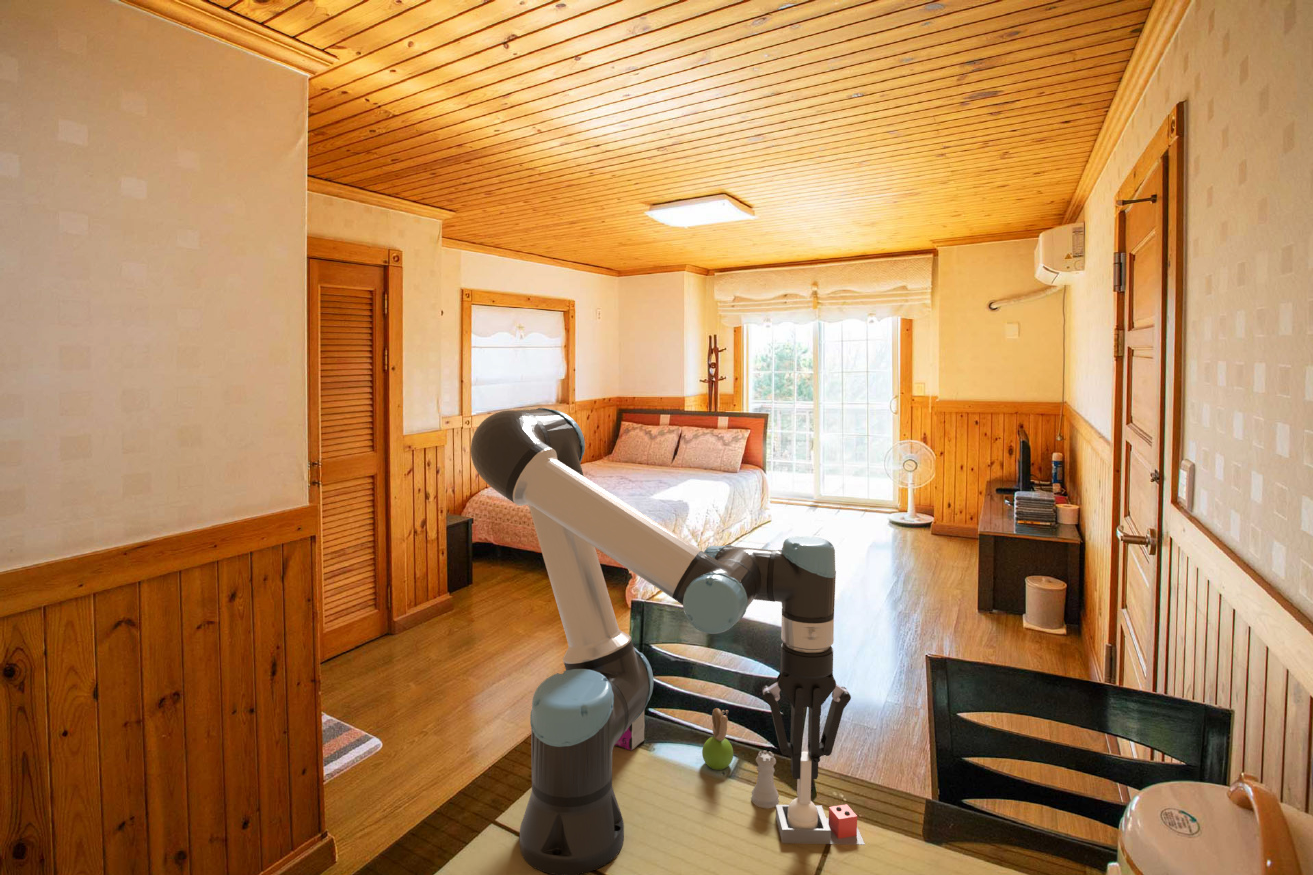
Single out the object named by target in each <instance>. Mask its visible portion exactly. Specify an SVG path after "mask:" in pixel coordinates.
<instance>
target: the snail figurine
mask: <svg viewBox="0 0 1313 875" xmlns="http://www.w3.org/2000/svg"><path fill="white" fill-rule="evenodd" d="M725 713H726V714H729V710H728V709H726V710H724V709H722V710H721V709H720V708H717V707H716V708H714V709H712V714H711V720H712V733H713V736H710V737H709V738H708V739H707V740H706V741H705V742H704V743H703V747H702V748H701V749H702V751H701V752H702V753H701V754H702V759H703V761H704V763H705V764H706V765H707V767H709V768H710V769H712V770H715V771H721V770H722V771H723V770H724V769H726V768H728V767H729V766H730V765H731V764H732V761H733V758H734V749H733V746H732V743H730V742H731V741H730V740H728V739H727V737H726V736H727V732H728V731H727V730H728V721H729V719H728V715H726V714H725ZM724 714H725V715H724Z"/></svg>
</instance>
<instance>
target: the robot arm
mask: <svg viewBox="0 0 1313 875" xmlns="http://www.w3.org/2000/svg"><path fill="white" fill-rule="evenodd" d="M470 444H471V445H470V457H471V461H472V464H473V467H474V468H475V471H476V472H477V474H478V475H479V476H480V477H481V479H482V480H483V481H484V482H485V483H486V484H487V485H488V486H489V487H491V489H493V490H494V491H496V492H497V493H498V494H500V495H502V496H503V497H504V498H506V499H507V500H509V501H510V502H512V503H513V504H514V505H516V506H519V507H520V506H526V505H527V506H528V508H529V512H530V516H531V519H532V522H533V526H534V530H535V533H536V536H537V542H538V543H539V547H540V550H541V554H542V558H543V562H544V564H545V568H546V571H547V575H548V579H549V582H550V586H551V588H552V593H553V595H554V600H555V603H556V605H557V609H558V610H557V611H558V613H559V616H560V620H561V623H562V626H563V630H564V633H565V637H566V641H567V645H568V647H567V650H566V651H565V653H564V655H563V657H562V660H563V661H562V662H563V664H564V669H565V670H564V671H563V672H562V673H558V672H556V673H554V674H552V675H551V676H549V677H547V678H546V679H544V680H543V681H542V682H541V683H540V684H539V686H538V687H537V688H536V689H535V691H534V693H533V696H532V700H531V701H532V703H531V709H530V716H529V718H530V719H529V720H530V722H529V723H530V727H531V728H530V729H531V731H530V732H531V734H530V735H531V748H530V749H531V792H530V796H529V799H528V802H527V806H526V808H525V811H524V814H523V818H522V821H521V823H520V826H519V827H520V828H519V850H520V854H521V855H522V858H523V859H524V860H525V861H526V863H528V864H529V865H530V866H531V867H533V868H535V869H536V870H539V871H540V872H541V871H542V872H544V873H547V874H551V875H581V874H586V873H590V872H594V871H595V870H598V869H600V868H602V867H604V866H605V865H607V864H609V863H610V862H611V861H613V860H614V858H616V857H617V855H618V854H619V853H620V851H621V850H622V847H623V845H624V840H625V839H624V838H625V837H624V834H625V825H624V824H625V823H624V818H623V815H622V812H621V809H620V807H619V803H618V800H617V797H616V794H615V791H614V788H613V750H614V747H615V744H616V743H617V741H618V740H619V739H620V737H621V736H622V735H623V734H624V733H625V731H626V730H627V729H628V728H629V726H630V725H631V724H632V723H633V721H635V720H636V719H637V718H638V717H639V716H640V715H641V714H642V712H643V711H644V709H646V707H647V705H648V703H649V701H650V700H651V697H652V694H653V690H654V675H653V670H652V666H651V664H650V662H649V660H648V659H647V657H646V656H645V655H644V654H643V652H640V651H638V648H636V647H634V643H633V641H632V640H633V639H632V636H630V634H628V633H626V632H624V631H622V630H621V629H620V628H619V625H618V620H617V618H616V615H615V611H614V608H613V605H612V600H611V598H610V594H609V590H608V587H607V583H606V580H605V577H604V573H603V570H602V565H601V564H600V560H599V556H598V553H597V550H599V551H600V552H602V553H603V554H605V555H606V556H607V557H610V558H611V559H612V560H614V561H616V562H617V563H618V564H620V565H621V566H623V567H624V568H626V569H627V570H629V571H631V572H632V573H633V574H635V575H636V576H638V577H639V578H642V580H645V582H647V583H648V584H650V585H652V586H654V587H655V588H656V589H658V590H660V591H661V592H662V593H664V594H666V595H667V596H669V597H670V598H672V599H673V600H675V601H677V602H678V603H679V604H681V605H682V608H683V612H684V615H685V617H686V618H687V620H688V622H689V623H690V624H691V625H692V626H693V627H694V628H695V629H697V630H698V631H700V632H702V633H704V634H705V633H706V634H710V635H711V634H712V635H717V634H722V633H724V632H726V631H729V630H730V629H732V628H733V626H735V624H737V623H738V622H739V621H740V620H741V619H742V618H744V616H745V614H746V612H747V609H748V607H749V606H750V604H752V602H753V601H754V600H756V601H764V602H765V601H766V602H772V603H773V602H780V603H781V630H780V631H781V634H780V638H781V641H782V643H781V645H780V672H779V674H778V675H777V678H776V682H775V683H773V684H771V685H770V686H768V685H764V686H762V688H761V689H762V690H761V691H762V694H763V698H764V699H765V701H766V703H767V704H768V706H769V708H770V713H771V717H772V721H773V726H774V729H775V733H776V734H775V735H776V737H777V738H776V740H777V742H778V746H779V749H780V752H781V754H782V755H783V756H789V757H790V772H791V773H790V774H791V776H792V779H793V780H797V781H796V783H797V784H796V785H797V786H796V795H797V798H799V801H800V804H811V801H812V791H811V790H812V780H817V779H818V777H819V763H820V761H821V757H823V756H826V757H828V756H831V755H832V752H833V748H834V745H835V741H836V739H837V734H838V731H839V728H840V724H841V721H842V720H841V719H842V716H843V713H844V710H845V708H846V707H847V706H848V704H849V702H850V701H851V699H852V696H851V694H850V693H849V691H848V689H847V687H845V686H840V685H839V684H837V682H836V679H835V678H834V673H833V672H834V648H833V647H832V646H833V644H834V640H835V639H834V638H835V636H834V631H835V630H834V629H835V626H834V624H835V623H834V621H835V620H834V619H835V602H836V600H835V598H836V597H835V595H836V579H837V578H836V576H837V575H836V574H837V571H836V555H835V553H836V552H835V551H836V550H835V546H834V545H833V544H832V543H831V541H829V540H827V539H824V538H821V537H816V536H791V537H789V538H786V539H785V540H784V541H783V543H782V548H781V549H776V550H775V549H763V548H753V547H744V546H743V547H742V546H734V545H731V544H725V545H710V546H708V547H706V548H705V550H704V551H702V549H700V548H698V547H697V546H695V545H694V544H692V543H691V542H689V541H687V540H685V539H684V538H682V537H680V536H679V535H678V534H676V533H674V532H673V531H671V530H670V529H668V528H666V527H665V526H663V525H662V524H660V523H658V522H657V521H656V520H654V519H652V518H651V517H649V516H647V515H646V514H645V513H642V512H641V511H639V510H638V509H637V508H635V507H633V506H632V505H630V504H628V503H627V502H625V501H623V500H622V499H621V498H618V496H616V495H614V494H612V493H611V492H609V491H608V490H606V489H604V488H603V487H601V486H599V485H598V484H596V483H595V482H593V481H592V480H590V479H589V478H587V477H586V476H585V475H584V472H583V468H582V464H581V463H582V459H583V456H584V455H585V450H586V449H585V448H586V442H585V437H584V434H583V431H582V429H581V427H580V426H579V424H578V423H577V422H576V421H575V420H574V418H572V417H571V416H570V415H568V414H566V413H565V412H564V411H563V412H562V411H560V410H557V409H551V408H546V407H545V408H544V407H539V408H532V409H522V410H519V409H518V410H516V409H515V410H514V409H513V410H512V409H510V410H502V411H499V412H498V411H497V412H495V413H492V414H491V415H489V416H488V417H486V418H485V419H484V420H483V421H481V423H480V424H479V425H478V426H477V428H476V429H475V431H474V433H473V435H472V439H471V443H470ZM596 549H597V550H596ZM780 692H782V693H783V695H784V696H785V697H786V700H787V701H788V702H789V704H790V710H791V712H790V714H791V715H790V716H791V717H790V742H788V739H787V735H786V730H785V725H784V721H783V716H782V712H781V710H780V706H779V703H778V702H779V700H780V699H781V696H780ZM830 695H831V697H832V699H831V702H830V704H829V708H828V712H827V716H826V720H825V723H824V726H823V731H822V734H821V726H820V725H821V715H822V706H823V704H824V703H825V702H826V700H827V699H829V696H830ZM805 708H808V710H807V711H808V715H807V716H808V718H807V719H808V722H807V723H808V725H807V751H803V747H802V746H803V716H804V709H805ZM820 735H821V736H820Z"/></svg>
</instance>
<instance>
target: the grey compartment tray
mask: <svg viewBox="0 0 1313 875" xmlns="http://www.w3.org/2000/svg"><path fill="white" fill-rule="evenodd" d="M814 805H815V804H814ZM788 807H789V804H778V805H776V806H775V820H776V825H777V829H778V833H779V837H780V840H781V844H810V845H811V844H814V845H852V846H853V845H854V846H856V845H858V846H859V845H861V846H864V845H866V842H865V841H864V839H863V837H862V835H861V832H860V830H859V827H858V815H857V814H856V813H855V812H854V810H853V809H852V808H851V807H850V806H849V805H848V804H847V803H846V804H840V805H833V806H828V817H826V814H825V811H824V808H823V805H815V807H816V809H817V813H818V824H817V829H816V828H788V826H787V818H788Z"/></svg>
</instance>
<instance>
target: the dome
mask: <svg viewBox="0 0 1313 875" xmlns="http://www.w3.org/2000/svg"><path fill="white" fill-rule="evenodd" d="M788 805H789V807H788V818H787V826H788V828H816V829H817V824H818V813H817V809H816V807H815V803H814V802H813V801H812V800H811V804H800V801H799V798H798V797H796V798H794V799H792V800H791V802H790V803H789V804H788Z"/></svg>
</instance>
